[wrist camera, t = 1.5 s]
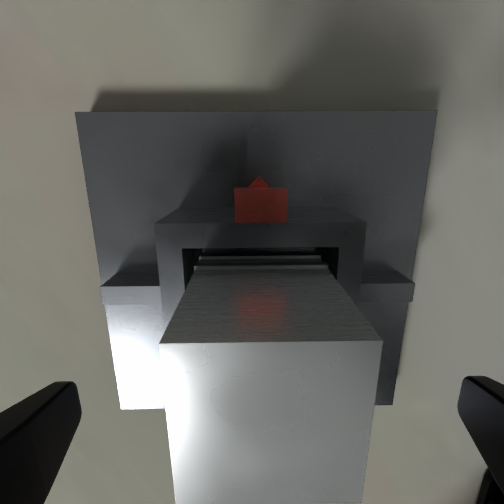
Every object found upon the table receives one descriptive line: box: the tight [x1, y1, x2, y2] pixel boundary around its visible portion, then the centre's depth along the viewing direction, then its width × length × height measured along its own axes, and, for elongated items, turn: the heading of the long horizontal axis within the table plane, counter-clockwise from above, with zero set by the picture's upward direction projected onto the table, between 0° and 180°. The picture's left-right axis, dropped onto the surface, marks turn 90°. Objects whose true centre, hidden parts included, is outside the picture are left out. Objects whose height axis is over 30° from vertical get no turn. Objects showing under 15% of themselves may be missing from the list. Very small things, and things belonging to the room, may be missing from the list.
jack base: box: [75, 111, 437, 409], centre depth 12 cm, size 14×14×4 cm
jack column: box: [159, 247, 383, 504], centre depth 10 cm, size 4×4×8 cm
